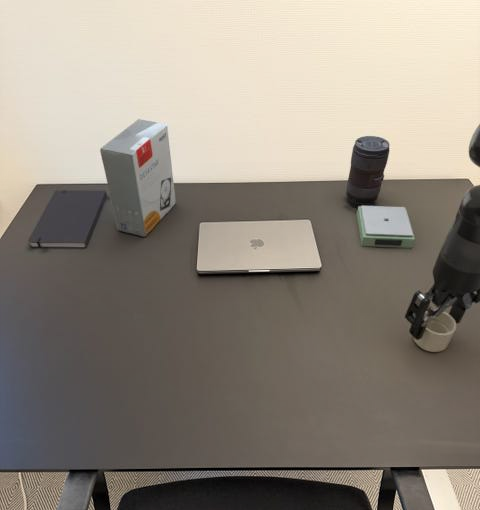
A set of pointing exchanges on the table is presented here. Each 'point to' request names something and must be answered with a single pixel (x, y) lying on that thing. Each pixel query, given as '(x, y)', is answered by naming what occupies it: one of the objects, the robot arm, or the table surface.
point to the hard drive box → (139, 176)
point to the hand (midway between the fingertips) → (434, 328)
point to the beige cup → (437, 333)
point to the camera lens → (367, 170)
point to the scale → (385, 227)
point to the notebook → (68, 219)
